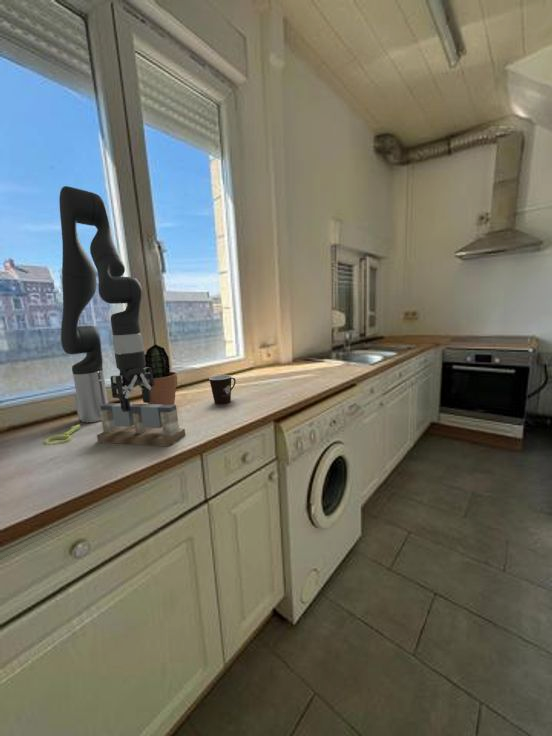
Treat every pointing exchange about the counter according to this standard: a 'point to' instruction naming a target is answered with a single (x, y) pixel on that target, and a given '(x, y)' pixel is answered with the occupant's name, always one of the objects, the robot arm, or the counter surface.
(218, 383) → the coffee mug
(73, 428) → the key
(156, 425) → the square weight dumbbell
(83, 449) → the counter surface
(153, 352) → the potted plant
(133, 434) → the display stand
